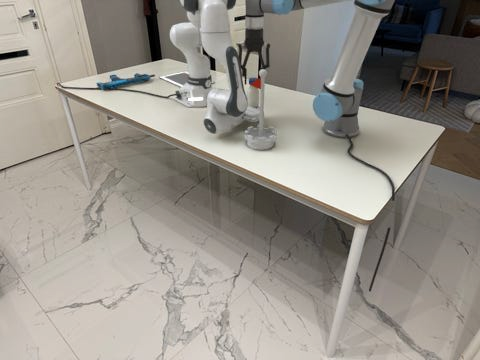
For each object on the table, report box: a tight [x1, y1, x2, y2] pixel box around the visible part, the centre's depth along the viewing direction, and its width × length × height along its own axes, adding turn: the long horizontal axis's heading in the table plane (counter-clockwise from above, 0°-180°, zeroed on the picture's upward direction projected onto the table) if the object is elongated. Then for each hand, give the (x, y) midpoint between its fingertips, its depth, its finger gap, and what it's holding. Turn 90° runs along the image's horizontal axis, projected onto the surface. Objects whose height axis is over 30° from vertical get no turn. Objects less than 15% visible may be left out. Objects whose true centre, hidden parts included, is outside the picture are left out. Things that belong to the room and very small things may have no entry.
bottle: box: [246, 85, 260, 108], centre depth 156 cm, size 6×6×19 cm
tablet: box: [158, 70, 215, 88], centre depth 212 cm, size 32×20×1 cm, turn 41°
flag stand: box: [244, 69, 278, 151], centre depth 131 cm, size 13×13×30 cm
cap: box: [248, 77, 259, 86], centre depth 151 cm, size 4×4×2 cm
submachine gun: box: [95, 72, 156, 91], centre depth 209 cm, size 34×4×25 cm
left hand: (253, 106), depth 158 cm, fingers closed on bottle, 5 cm apart
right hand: (253, 83), depth 152 cm, fingers open, 6 cm apart
